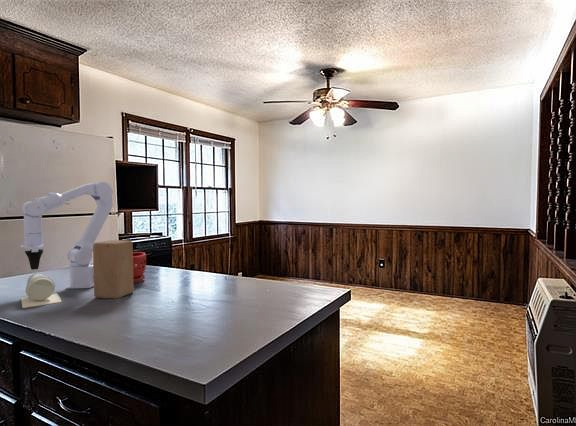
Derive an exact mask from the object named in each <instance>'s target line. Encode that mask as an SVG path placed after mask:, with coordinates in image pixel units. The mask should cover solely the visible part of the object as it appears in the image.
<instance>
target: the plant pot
mask: <svg viewBox="0 0 576 426" xmlns="http://www.w3.org/2000/svg"><path fill="white" fill-rule="evenodd" d="M146 266H147V254H146V252H144V251H143V252H142V251H133V284H135V283H140V282H141V281H144V279H145V277H146V275H145V274H144V273H145V270H146V268H147V267H146Z"/></svg>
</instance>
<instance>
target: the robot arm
mask: <svg viewBox="0 0 576 426" xmlns="http://www.w3.org/2000/svg"><path fill="white" fill-rule="evenodd" d="M113 194H114V190H113V188H112V187H111V184H110V183H109V182H107V181H100V182H97V181H96V182H95V181H93V182H91V183H86V184H82V185H79V186H78V187H75V188H72V189H70V190H67V191H64V192H62V193H57V192H52V191H51V192H48V193H47V195H45V196H42V197H40V198H39V197H35V198H34V200H32V201H26V202H25V203H24V204H23V205H22V207H21V209H20V211H21V213H22V215H23V233H24V234H23V240H24V242H23V243H24V244H23V245H20V248H21V249H22V248H23V249H30V250H25V251H24V253H25V255H26V257H27V258H28V262H29V263H28V264H29V266H30V270H31V271H32V270H33V271H34V270H38V269H39V268H40V267H39V266H40V262H41V258H42V255H43V253H44V249H43V248H42V247H44V238H43V237H44V236H43V219H42V218H43V214H44V213H47V212H50V211H53V210H55V209H57V208H58V209H59V208H60V207H62V206H63V205H64V203H65V202H67V201H70V200H72V199H75V198H76V199H77V198H79V197H80V196H83V195H84V196H90V197H91V198H93V200H94V201H95V202H96V206H97V207H96V209H95V211H94V212H93V214H92V216H91V218H90V220H89V222H88V224H87V226H86V227H85V229H84V232H83V233H82V235H81V237H80V239H79V240H78V241H77V242H76V243H75V244H74V246H73V247H72V248H71V249H69V250H68V253H67V259H68V261H69V262H70V263H69V285H68V286H65V289H66V290H67V289H68V290H69V289H90V288H92V287H93V288H94V266H93V264H91V261H92V260H93V259H92V258H93V244H94V243H96V240H97V238H98V237H99V234H100V232H101V230H102V228H103V226H104V224H105V222H106V221H107V218H108V216H109V215H110V212H111V211H112V208H113V206H114V205H113V204H114V203H113Z"/></svg>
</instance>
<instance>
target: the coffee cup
mask: <svg viewBox="0 0 576 426" xmlns="http://www.w3.org/2000/svg"><path fill="white" fill-rule="evenodd" d="M55 287H56V283H55V282H54V280H53V279H52V278H50V277H48V276H45V275H44V274H42V273H34V274H32V275H30V276H29V277H28V278H27V283H26V286H25V294H26V296H27V297H29V298H31V299H33V300H37V301H40V300H45V299H47V298H49V297H50V296H51V295H52V294H54V292H55V290H56V288H55Z"/></svg>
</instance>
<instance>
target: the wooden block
mask: <svg viewBox="0 0 576 426" xmlns="http://www.w3.org/2000/svg"><path fill="white" fill-rule="evenodd" d="M133 250H134V248H133V241H131V240H123V239H122V240H121V239H119V240H118V239H117V240H116V239H115V240H113V239H110V240H104V241H97V242H94V244H93V252H92V258H93V259H92V260H93V261H92V262H93V263H92V265H93V266H94V286H93V293H94V294H93V296H94V297H95V298H99V299H112V298H113V300H114V299H116V300H117V299H119V298H122V297H125V296H127V295H130V294H132V293H134V290H135V289H134V288H135V287H134V284H135V283H133V252H134V251H133Z"/></svg>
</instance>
